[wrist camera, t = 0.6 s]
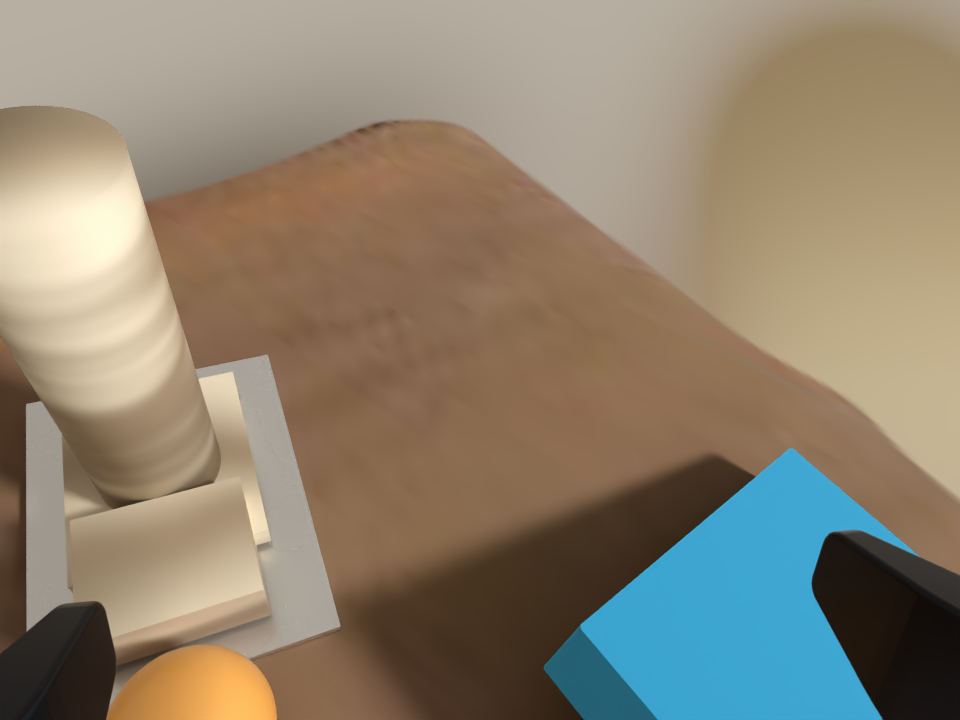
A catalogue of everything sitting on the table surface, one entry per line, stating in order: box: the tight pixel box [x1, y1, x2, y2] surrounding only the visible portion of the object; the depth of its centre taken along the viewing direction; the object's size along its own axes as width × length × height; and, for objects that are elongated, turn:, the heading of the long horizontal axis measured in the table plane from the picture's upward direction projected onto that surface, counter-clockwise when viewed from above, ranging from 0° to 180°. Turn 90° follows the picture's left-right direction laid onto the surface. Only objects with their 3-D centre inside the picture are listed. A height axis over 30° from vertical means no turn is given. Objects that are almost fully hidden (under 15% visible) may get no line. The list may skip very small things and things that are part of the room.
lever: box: [544, 448, 918, 720], centre depth 22 cm, size 7×7×18 cm
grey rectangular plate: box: [26, 355, 341, 707], centre depth 24 cm, size 12×9×1 cm
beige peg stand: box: [0, 106, 271, 666], centre depth 18 cm, size 10×6×13 cm, turn 22°
